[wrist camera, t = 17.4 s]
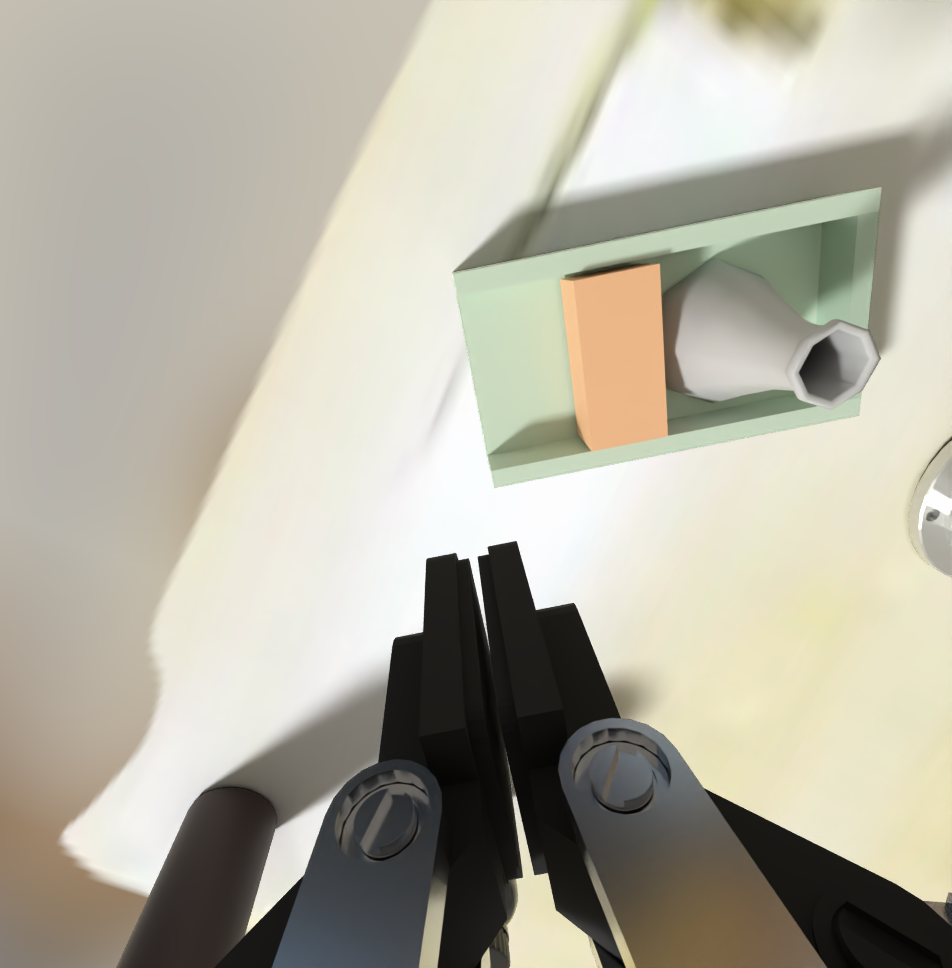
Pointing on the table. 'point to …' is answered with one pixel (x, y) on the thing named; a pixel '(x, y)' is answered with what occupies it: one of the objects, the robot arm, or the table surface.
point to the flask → (756, 342)
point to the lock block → (616, 354)
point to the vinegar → (205, 883)
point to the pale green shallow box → (680, 251)
